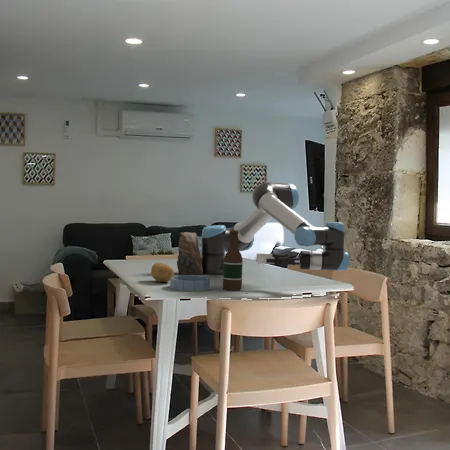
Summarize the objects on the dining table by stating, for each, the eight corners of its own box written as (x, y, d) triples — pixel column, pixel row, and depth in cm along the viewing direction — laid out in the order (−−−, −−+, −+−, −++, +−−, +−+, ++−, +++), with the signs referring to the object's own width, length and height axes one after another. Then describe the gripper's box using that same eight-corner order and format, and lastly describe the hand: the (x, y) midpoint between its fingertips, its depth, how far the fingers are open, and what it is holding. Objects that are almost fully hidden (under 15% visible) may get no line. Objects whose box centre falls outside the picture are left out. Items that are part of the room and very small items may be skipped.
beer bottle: (224, 291, 227) (226, 230, 226) (221, 288, 235) (222, 229, 234) (243, 291, 229) (245, 231, 228) (239, 288, 236) (241, 230, 235)
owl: (176, 274, 272) (178, 232, 271) (174, 271, 284) (175, 231, 283) (203, 275, 274) (204, 233, 273) (199, 271, 287) (200, 231, 286)
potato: (157, 284, 238) (157, 265, 238) (146, 280, 250) (147, 262, 250) (179, 284, 242) (179, 265, 242) (167, 279, 255) (168, 261, 254)
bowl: (172, 284, 240) (172, 274, 240) (210, 285, 240) (211, 276, 240) (168, 290, 224) (168, 280, 224) (209, 291, 224) (209, 281, 224)
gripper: (313, 273, 219) (258, 271, 219) (305, 266, 244) (255, 264, 244) (314, 253, 218) (258, 251, 219) (306, 248, 243) (256, 246, 243)
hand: (257, 258), depth 231 cm, fingers open, 13 cm apart
